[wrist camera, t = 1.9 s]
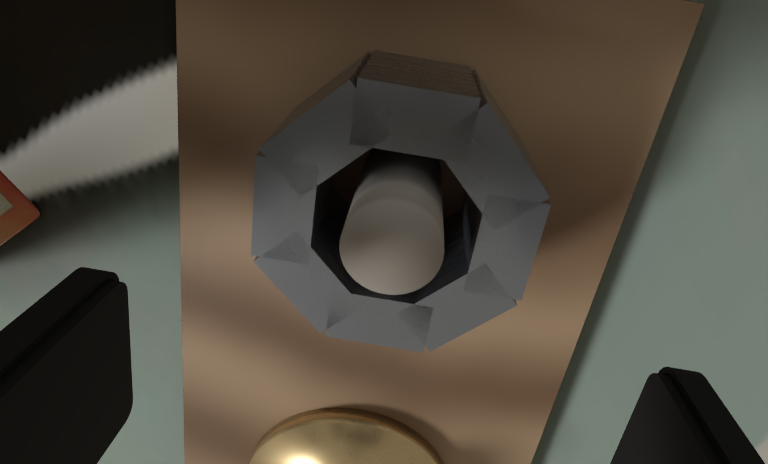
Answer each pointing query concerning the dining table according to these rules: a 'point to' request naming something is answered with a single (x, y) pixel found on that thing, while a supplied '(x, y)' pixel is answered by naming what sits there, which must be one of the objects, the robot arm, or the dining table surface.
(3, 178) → the cracker box
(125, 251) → the dining table surface
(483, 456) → the board
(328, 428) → the hub
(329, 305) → the ring
